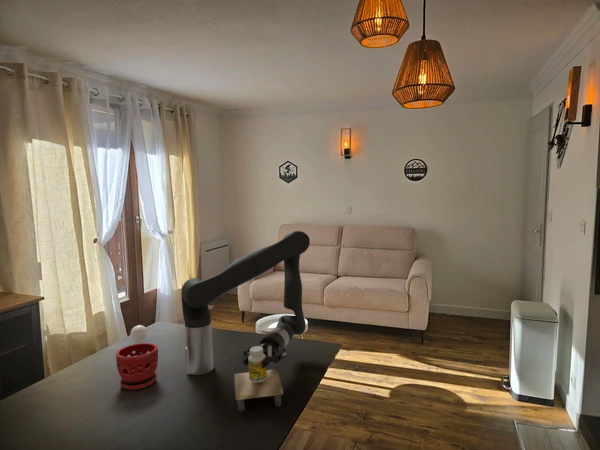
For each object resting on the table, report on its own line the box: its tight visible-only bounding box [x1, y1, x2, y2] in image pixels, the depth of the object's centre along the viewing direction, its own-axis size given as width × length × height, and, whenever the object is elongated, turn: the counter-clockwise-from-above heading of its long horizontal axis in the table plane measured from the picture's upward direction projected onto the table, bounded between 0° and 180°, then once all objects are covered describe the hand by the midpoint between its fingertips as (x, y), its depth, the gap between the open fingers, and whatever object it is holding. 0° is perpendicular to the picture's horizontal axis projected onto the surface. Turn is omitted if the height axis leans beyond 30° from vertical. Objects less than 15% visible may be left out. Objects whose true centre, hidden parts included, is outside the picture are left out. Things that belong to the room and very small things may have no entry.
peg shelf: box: [234, 368, 284, 412], centre depth 124 cm, size 14×14×5 cm
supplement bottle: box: [247, 345, 268, 383], centre depth 123 cm, size 6×6×10 cm
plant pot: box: [115, 342, 159, 391], centre depth 135 cm, size 13×13×12 cm
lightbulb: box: [130, 324, 148, 353], centre depth 161 cm, size 6×6×11 cm
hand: (253, 363), depth 121 cm, fingers closed on supplement bottle, 5 cm apart
